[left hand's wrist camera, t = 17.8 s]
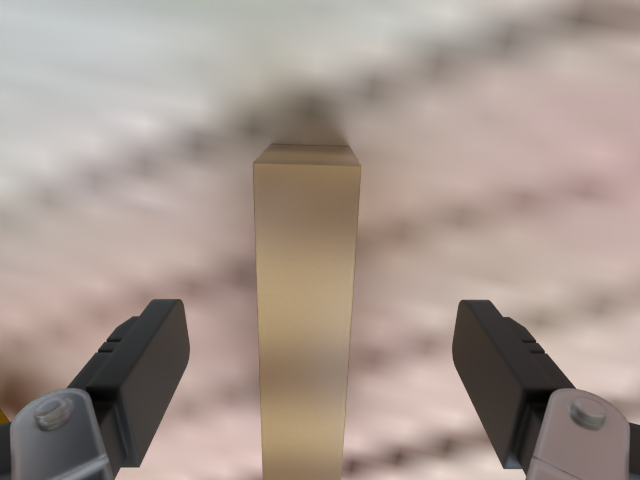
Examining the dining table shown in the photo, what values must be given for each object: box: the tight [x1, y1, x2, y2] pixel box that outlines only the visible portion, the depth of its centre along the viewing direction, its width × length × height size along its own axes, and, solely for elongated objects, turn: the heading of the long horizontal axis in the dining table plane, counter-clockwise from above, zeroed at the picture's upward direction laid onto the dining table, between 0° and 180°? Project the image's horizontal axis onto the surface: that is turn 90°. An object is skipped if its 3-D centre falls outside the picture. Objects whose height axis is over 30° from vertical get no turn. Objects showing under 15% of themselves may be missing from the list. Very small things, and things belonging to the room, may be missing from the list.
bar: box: [253, 144, 361, 480], centre depth 29 cm, size 26×6×8 cm, turn 178°
